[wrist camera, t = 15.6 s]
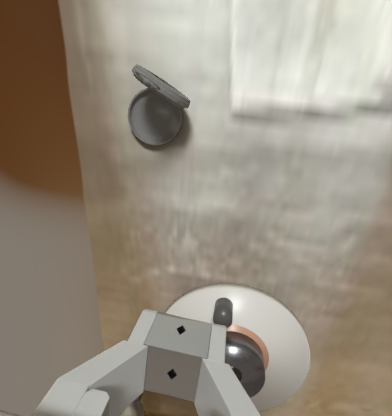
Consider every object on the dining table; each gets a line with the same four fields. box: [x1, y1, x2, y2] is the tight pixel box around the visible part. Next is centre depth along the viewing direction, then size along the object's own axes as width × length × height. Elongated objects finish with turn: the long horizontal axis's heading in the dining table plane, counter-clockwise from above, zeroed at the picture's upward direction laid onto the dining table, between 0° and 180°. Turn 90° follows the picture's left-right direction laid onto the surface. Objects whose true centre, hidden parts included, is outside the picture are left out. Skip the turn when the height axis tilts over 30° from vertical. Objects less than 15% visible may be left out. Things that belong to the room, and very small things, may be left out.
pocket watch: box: [128, 65, 190, 145], centre depth 30 cm, size 8×8×10 cm
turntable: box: [165, 283, 310, 412], centre depth 40 cm, size 22×22×6 cm
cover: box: [225, 331, 265, 398], centre depth 39 cm, size 9×9×3 cm
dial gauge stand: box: [118, 390, 146, 416], centre depth 41 cm, size 6×5×12 cm
